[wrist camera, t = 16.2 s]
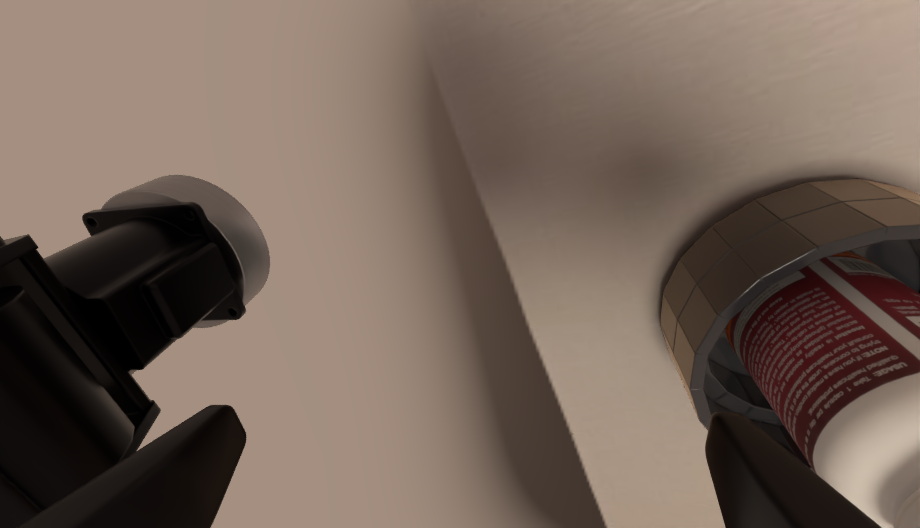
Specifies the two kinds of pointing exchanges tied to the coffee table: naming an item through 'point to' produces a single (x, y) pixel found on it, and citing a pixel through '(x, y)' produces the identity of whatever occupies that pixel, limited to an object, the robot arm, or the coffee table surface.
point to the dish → (775, 279)
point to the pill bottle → (843, 378)
